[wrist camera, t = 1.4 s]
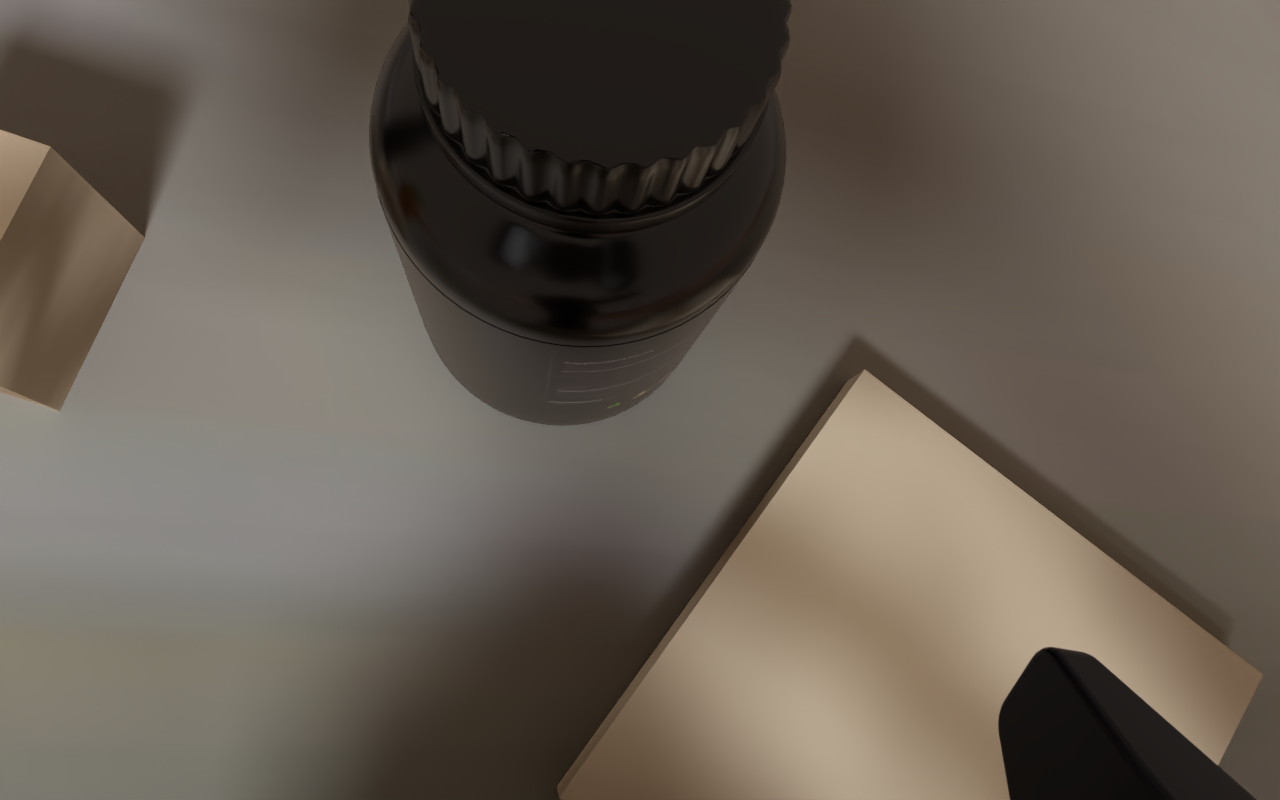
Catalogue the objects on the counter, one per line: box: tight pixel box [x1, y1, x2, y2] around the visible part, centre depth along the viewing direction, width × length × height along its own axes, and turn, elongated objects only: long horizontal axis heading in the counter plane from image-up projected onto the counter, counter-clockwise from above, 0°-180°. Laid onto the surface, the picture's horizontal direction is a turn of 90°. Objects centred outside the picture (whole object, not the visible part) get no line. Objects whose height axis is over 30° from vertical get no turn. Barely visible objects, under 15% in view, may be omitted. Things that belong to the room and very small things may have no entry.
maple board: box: [557, 369, 1263, 800], centre depth 21 cm, size 12×12×1 cm
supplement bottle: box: [369, 0, 792, 426], centre depth 17 cm, size 7×7×12 cm
